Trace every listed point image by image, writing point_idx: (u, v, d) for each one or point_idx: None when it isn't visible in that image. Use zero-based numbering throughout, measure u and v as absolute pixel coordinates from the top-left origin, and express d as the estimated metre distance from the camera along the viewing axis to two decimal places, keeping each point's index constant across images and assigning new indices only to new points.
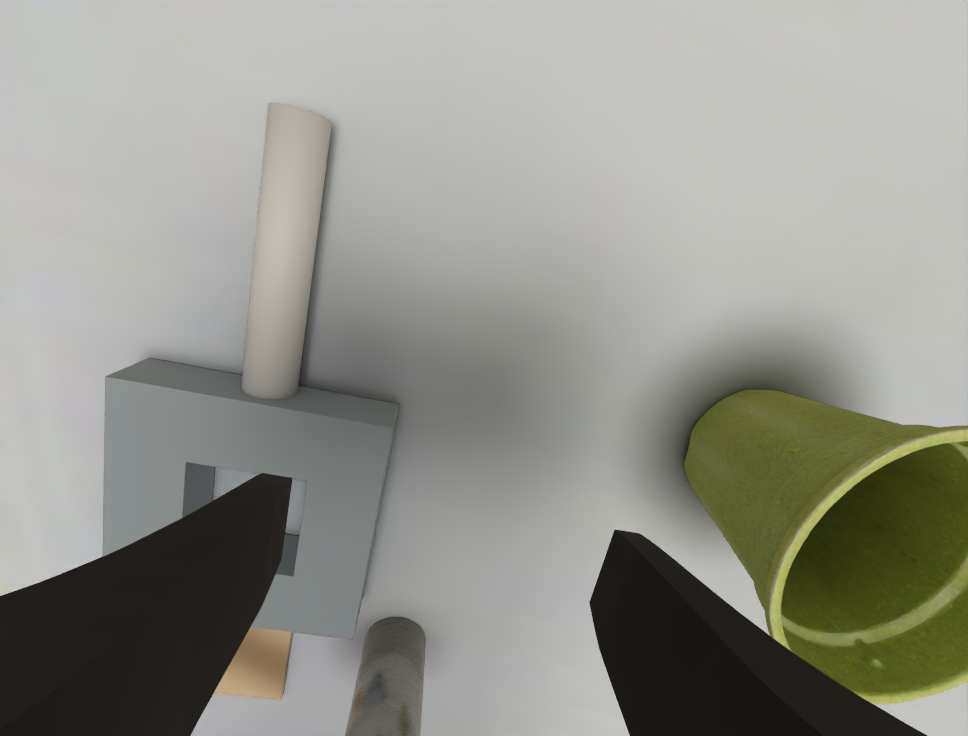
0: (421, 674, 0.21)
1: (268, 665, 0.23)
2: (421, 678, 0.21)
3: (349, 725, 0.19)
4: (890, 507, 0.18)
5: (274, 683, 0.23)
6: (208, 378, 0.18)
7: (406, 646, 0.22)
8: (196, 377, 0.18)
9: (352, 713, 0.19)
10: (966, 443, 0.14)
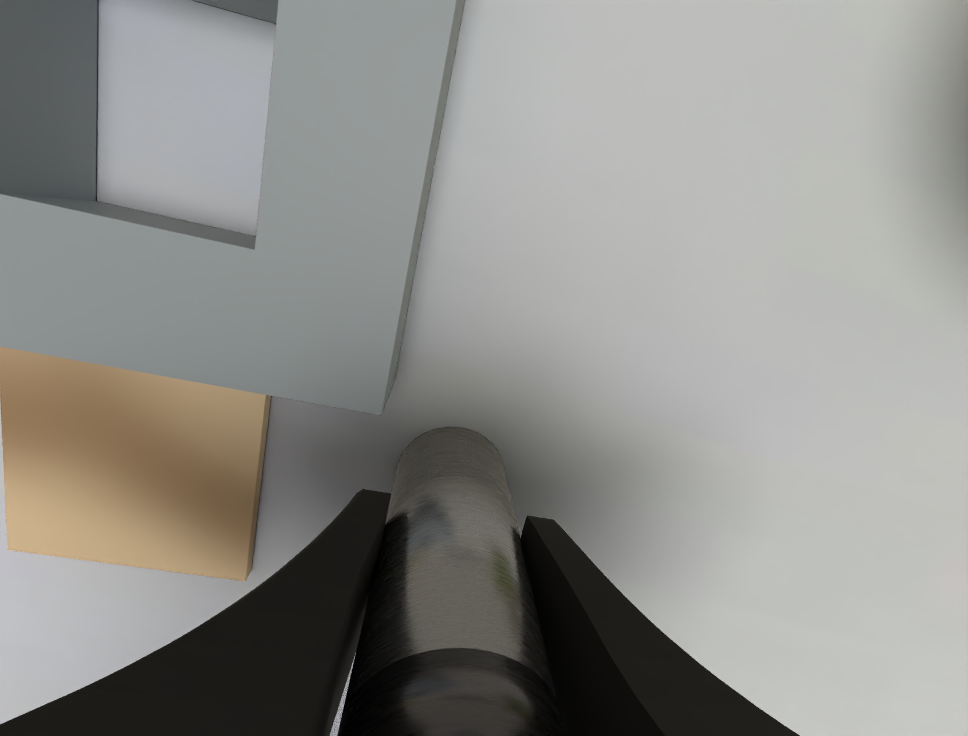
0: (512, 507, 0.11)
1: (220, 511, 0.12)
2: None
3: (378, 570, 0.08)
4: None
5: (233, 548, 0.13)
6: None
7: (481, 458, 0.11)
8: None
9: (383, 551, 0.09)
10: None
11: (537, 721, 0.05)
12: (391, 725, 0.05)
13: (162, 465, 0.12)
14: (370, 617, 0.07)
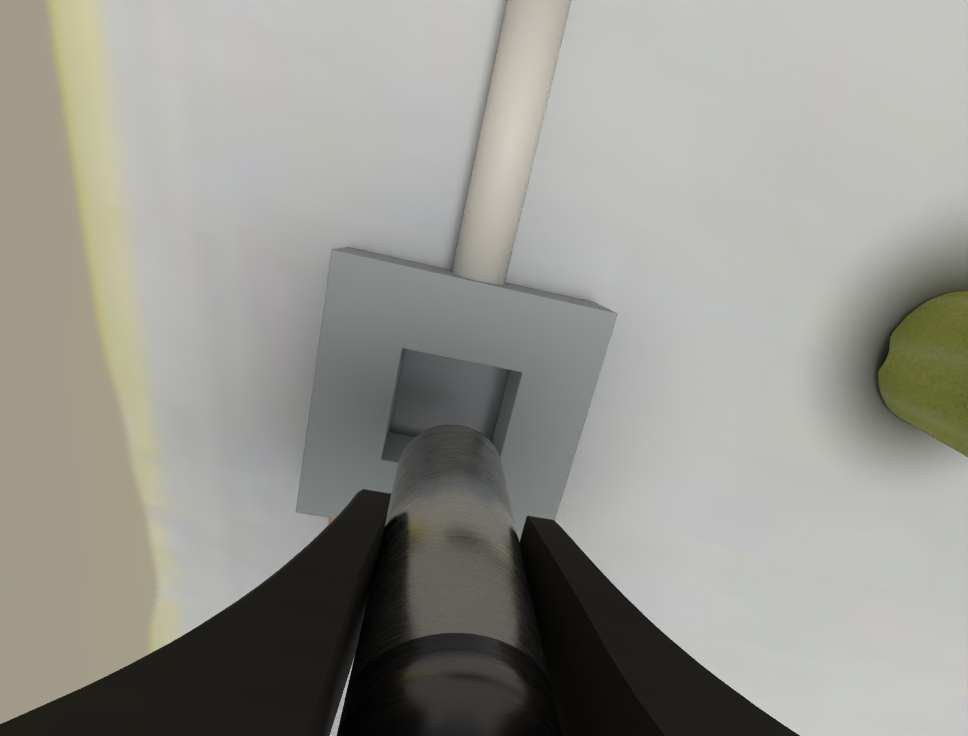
0: (507, 495, 0.11)
1: None
2: (508, 500, 0.11)
3: (375, 571, 0.09)
4: None
5: None
6: (416, 264, 0.17)
7: (471, 452, 0.12)
8: (405, 262, 0.17)
9: (379, 552, 0.09)
10: None
11: (516, 693, 0.06)
12: (376, 711, 0.05)
13: None
14: (366, 615, 0.08)
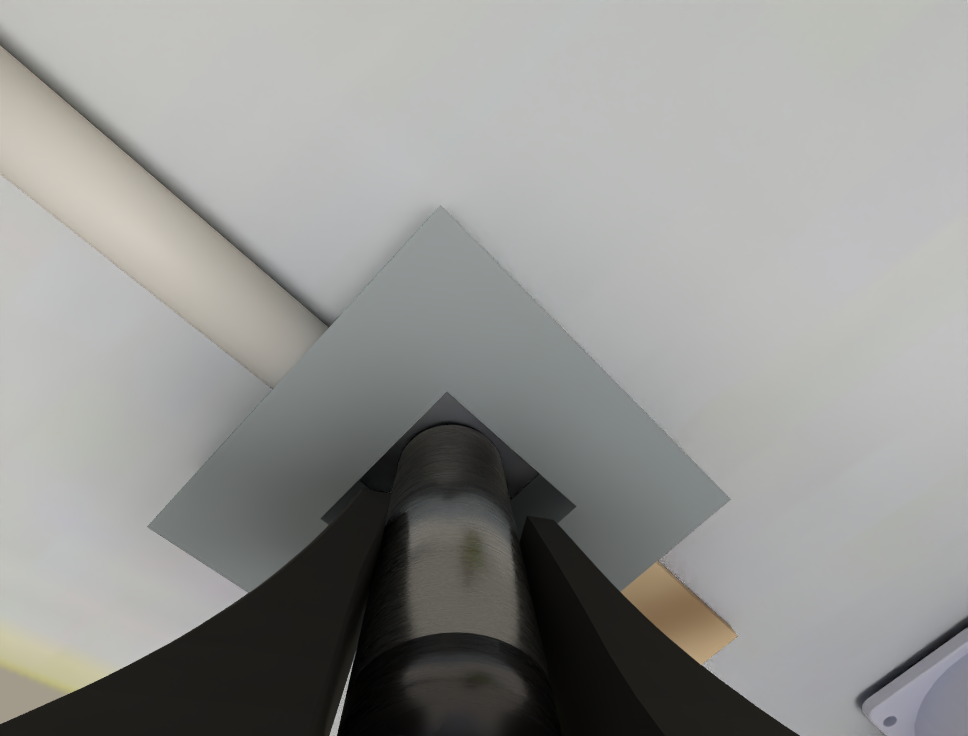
0: (506, 494, 0.11)
1: (681, 618, 0.16)
2: (508, 499, 0.11)
3: (375, 571, 0.09)
4: None
5: (710, 628, 0.16)
6: None
7: (471, 452, 0.12)
8: None
9: (379, 553, 0.09)
10: None
11: (516, 692, 0.06)
12: (376, 711, 0.05)
13: None
14: (366, 616, 0.08)
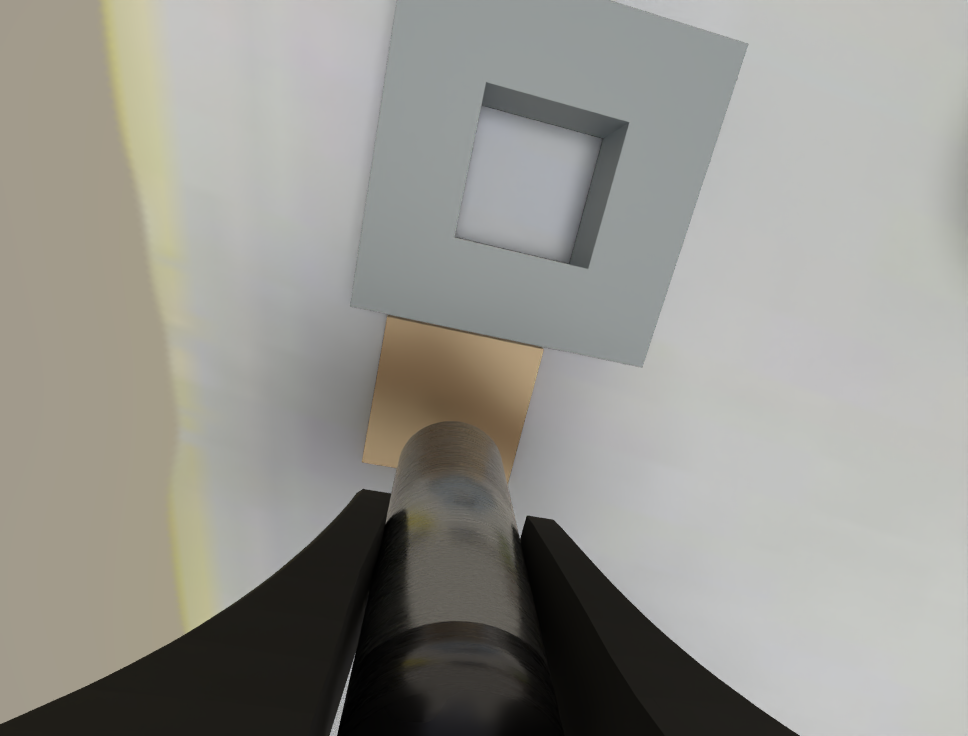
0: (505, 488, 0.11)
1: (499, 437, 0.19)
2: (507, 493, 0.11)
3: (375, 566, 0.09)
4: None
5: (503, 463, 0.19)
6: None
7: (469, 447, 0.12)
8: None
9: (380, 547, 0.09)
10: None
11: (513, 678, 0.06)
12: (375, 699, 0.06)
13: (469, 405, 0.18)
14: (366, 608, 0.08)
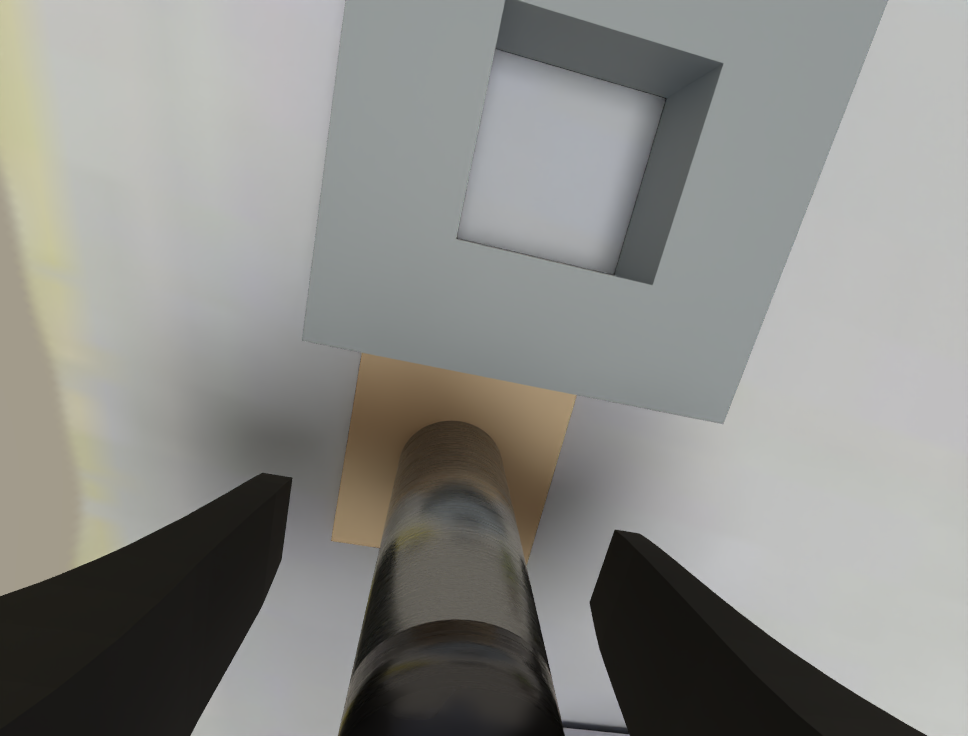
0: (506, 487, 0.11)
1: (516, 507, 0.14)
2: (507, 492, 0.11)
3: (376, 564, 0.09)
4: None
5: (520, 539, 0.14)
6: None
7: (469, 446, 0.12)
8: None
9: (381, 546, 0.09)
10: None
11: (513, 675, 0.06)
12: (377, 696, 0.06)
13: None
14: (367, 607, 0.08)
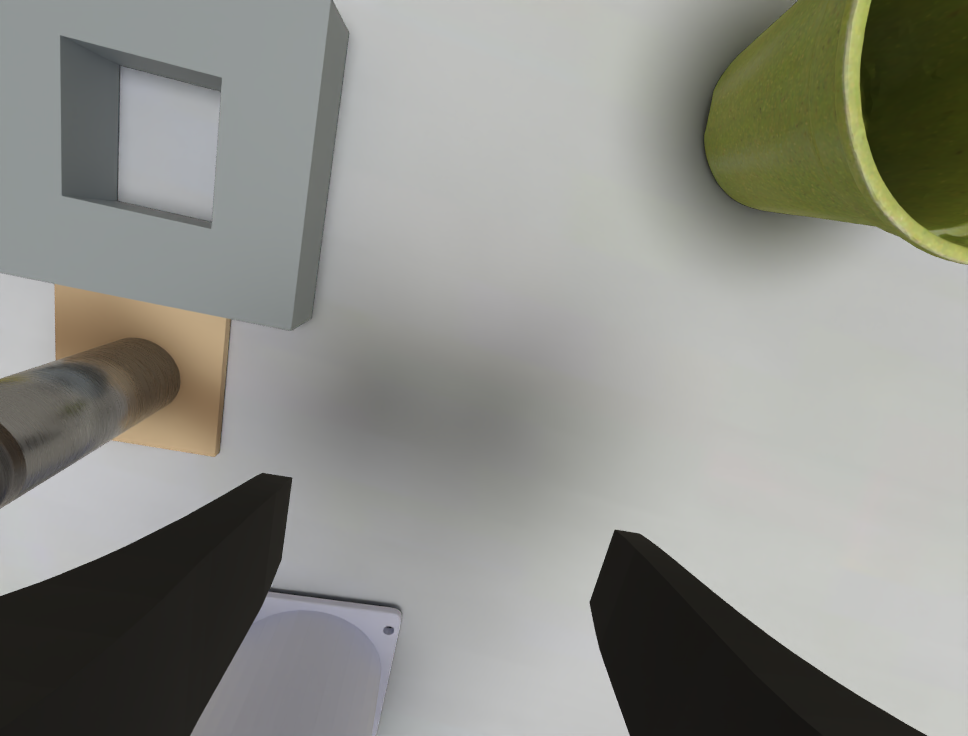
0: (134, 375, 0.16)
1: (197, 406, 0.19)
2: (131, 377, 0.16)
3: None
4: None
5: (206, 433, 0.19)
6: None
7: (118, 349, 0.16)
8: None
9: None
10: None
11: None
12: None
13: None
14: None
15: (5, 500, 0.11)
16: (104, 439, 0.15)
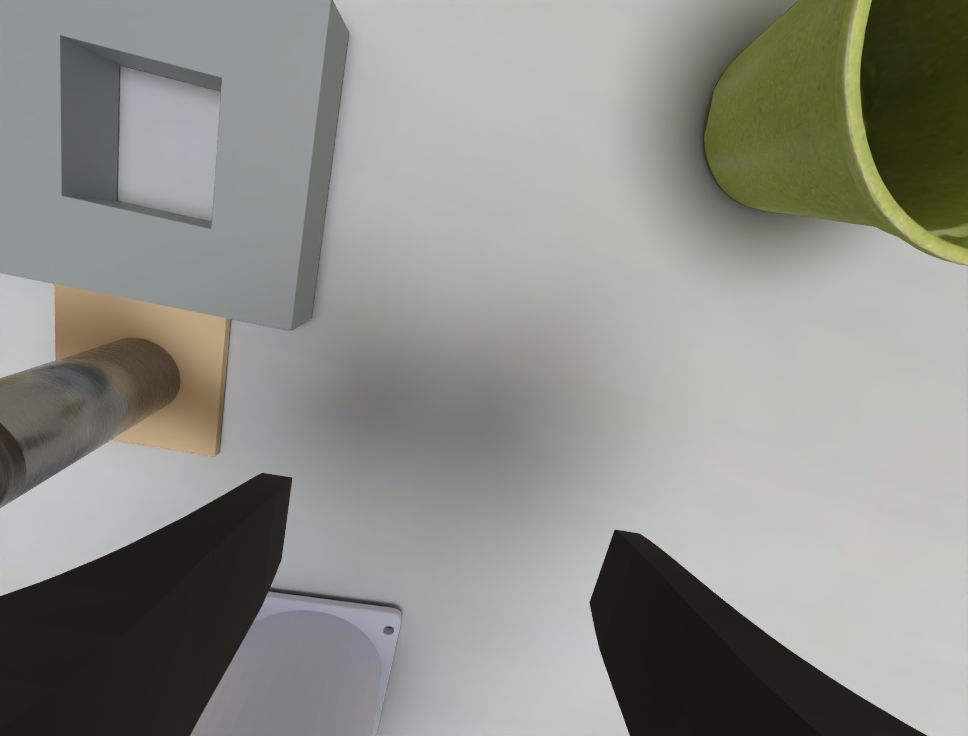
0: (134, 374, 0.16)
1: (197, 406, 0.19)
2: (131, 377, 0.16)
3: None
4: None
5: (206, 433, 0.19)
6: None
7: (118, 349, 0.16)
8: None
9: None
10: None
11: None
12: None
13: None
14: None
15: (5, 500, 0.11)
16: (104, 439, 0.15)
